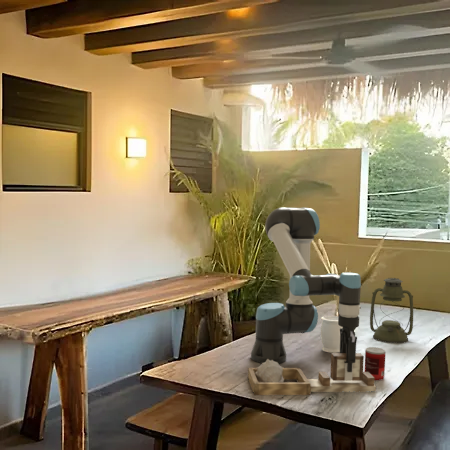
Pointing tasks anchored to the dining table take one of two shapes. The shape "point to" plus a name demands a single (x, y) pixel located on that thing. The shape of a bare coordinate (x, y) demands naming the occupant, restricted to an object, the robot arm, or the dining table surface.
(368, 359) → the canned food
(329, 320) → the jar
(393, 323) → the lantern
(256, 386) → the shell cradle
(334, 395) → the dining table surface
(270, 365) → the seashell
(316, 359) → the dining table surface
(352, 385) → the ledge
